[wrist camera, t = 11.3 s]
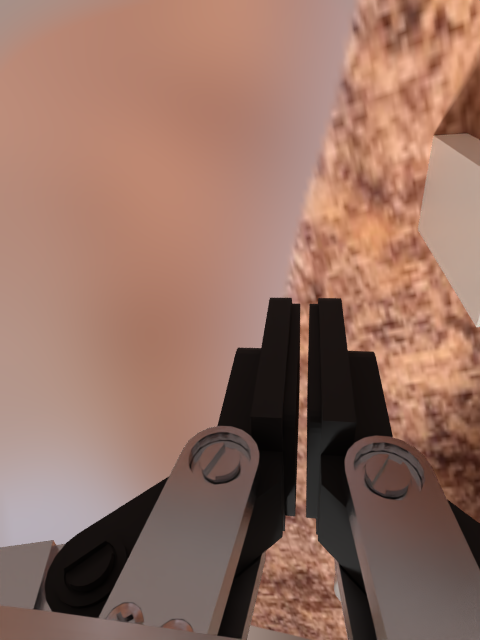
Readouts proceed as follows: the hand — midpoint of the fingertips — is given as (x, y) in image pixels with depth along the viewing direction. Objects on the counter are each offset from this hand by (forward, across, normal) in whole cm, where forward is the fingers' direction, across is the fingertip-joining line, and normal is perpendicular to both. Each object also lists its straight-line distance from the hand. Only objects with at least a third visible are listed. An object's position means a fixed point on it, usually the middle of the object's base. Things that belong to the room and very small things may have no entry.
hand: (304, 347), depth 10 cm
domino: (+15, -7, 0) cm, 17 cm away
